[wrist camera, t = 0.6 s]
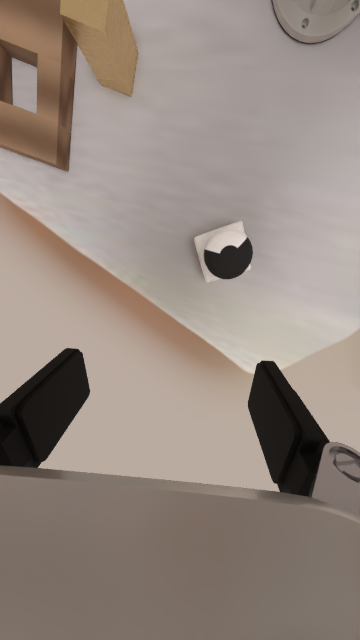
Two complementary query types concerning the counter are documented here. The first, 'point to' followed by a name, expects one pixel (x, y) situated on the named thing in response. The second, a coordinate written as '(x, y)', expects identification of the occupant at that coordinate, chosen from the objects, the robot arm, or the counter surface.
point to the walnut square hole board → (38, 80)
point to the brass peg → (104, 40)
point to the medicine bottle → (224, 252)
